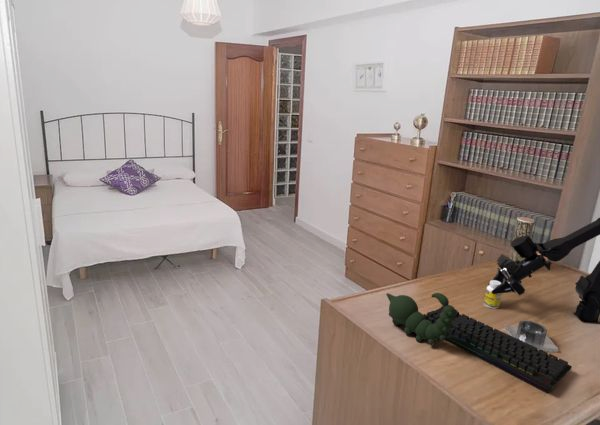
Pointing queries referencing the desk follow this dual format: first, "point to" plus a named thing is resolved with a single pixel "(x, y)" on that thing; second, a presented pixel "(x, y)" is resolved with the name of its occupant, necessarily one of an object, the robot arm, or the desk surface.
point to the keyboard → (505, 351)
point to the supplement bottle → (492, 295)
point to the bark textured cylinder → (521, 234)
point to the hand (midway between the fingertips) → (490, 289)
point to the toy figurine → (421, 318)
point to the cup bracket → (532, 335)
